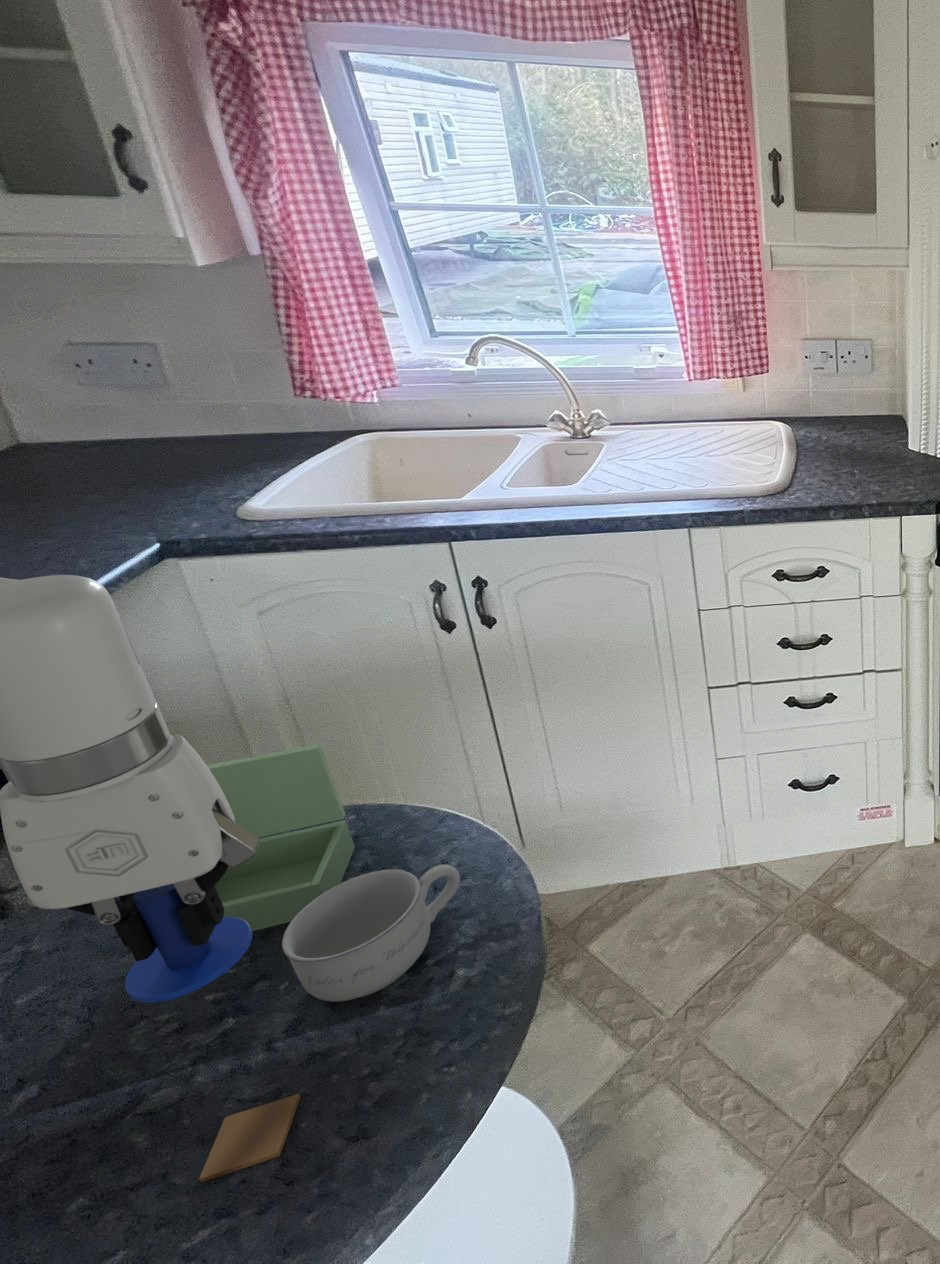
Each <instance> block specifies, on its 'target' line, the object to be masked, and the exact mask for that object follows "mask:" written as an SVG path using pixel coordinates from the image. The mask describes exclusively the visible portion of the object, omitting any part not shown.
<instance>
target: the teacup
mask: <svg viewBox="0 0 940 1264" xmlns="http://www.w3.org/2000/svg"><path fill="white" fill-rule="evenodd" d="M442 877H447V883H446V885H445V886H444V887H443V890H442V891H441V892H440V893H439V895H437V897H435V899H434V900H433V901H432V902H430V903H429V904H428V905H427V904H426V899H427V897H428V890H429V889H430V887H431V885H432V883H434V881H436V880H438V879H439V878H442ZM460 882H461V874H460V873H459V870H458V869H456V868H455V867H454V866H453V865H449V864H439V865H438V864H437V865H436V866H434V867H431V868H430V869H428V870H427V871H426V872H424V873H423V874H422V875H421V876H420V877H419V879H418V877H417V876H415V875H414V874H413V873H412V872H409V871H407V870H403V869H397V868H395V869H382V870H377V871H372V872H368V873H367V872H366V873H364V874H361V875H358V876H356V877H353V878H350V879H348V880H345V881H343V882H341V883H340V884H339V885H337V886H335V887H333V888H331V889H330V890H328V891H326V892H325V893H323V894H322V895H320V896H319V897H317V898H316V899H315V900H313V901H312V902H310V903H309V904H308V905H307V906H306V907H304V908H303V909H302V910H301V911H300V912H299V913H298V914H297V915H296V916H295V918H294V919H293V920H292V921H291V922H289V924H288V926H287V927H286V929H285V931H284V933H283V937H282V941H281V947H282V951H283V953H284V955H285V956H286V957H287V958H288V959H289V962H290V964H291V967H292V968H293V971H294V972H295V975H296V976H297V978H298V980H299V982H300V984H301V985H302V987H303V989H305V991H306V992H307V993H308V994H309V995H311V996H312V997H314V998H316V999H318V1000H319V1001H320V1000H321V1001H325V1002H346V1001H352V1000H355V999H358V998H362V997H366V996H369V995H372V994H374V993H376V992H378V991H380V990H382V989H384V988H386V987H388V986H390V985H391V984H392V983H394V982H395V981H397V980H398V979H399V978H401V976H403V975H404V974H405V973H406V972H407V971H408V970H409V969H410V968H411V967H412V966H413V965H414V964H415V963H416V961H418V959H419V958H420V956H421V955H422V954H423V952H424V950H425V948H426V947H427V944H428V942H429V939H430V935H431V924H432V923H433V922H434V921H435V920H436V917H437V916H438V913H439V912H440V911H441V910H442V909H443V908H444V907H445V906H446V905H447V904H448V903H449V901H451V899H452V898H453V897H454V895H455V894H456V892H457V890H458V889H459V886H460Z"/></svg>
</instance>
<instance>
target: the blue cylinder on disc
mask: <svg viewBox="0 0 940 1264" xmlns="http://www.w3.org/2000/svg"><path fill="white" fill-rule="evenodd" d="M133 900H134V902H135V904H136V906H137V908H138V910H139V912H140V914H141V916H142V918H143V920H144V922H145V924H146V926H147V928H148V930H149V932H150V934H151V936H152V938H153V940H154V942H155V944H156V946H157V947H156V949H155V950H154V952H153V954H152V955H151V956H149V958H148V959H145V960H141V961H135V962H134V964H133V965H132V966H131V967H130V969H129V971H128V972H127V974H126V976H125V980H124V989H125V992H126V993H127V995H128V997H129V998H130V999H131V1000H133V1001H134V1002H138V1003H141V1004H142V1003H143V1004H157V1003H162V1002H167V1001H171V1000H175V999H178V998H182V996H183V997H184V996H187V995H189V994H191V993H193V992H195V991H197V990H199V989H201V988H203V987H206V986H207V985H209V984H210V983H212V982H214V981H215V980H217V979H219V978H220V977H221V976H223V975H224V974H226V973H227V972H228V971H229V970H230V969H231V968H233V967H234V966H235V965H236V964H237V963H239V961H240V960H241V959H242V957H243V956H244V955H245V953H246V952H247V951H248V950H249V947H250V945H251V943H252V940H253V939H252V938H253V931H251V928H250V926H249V924H248V923H247V922H246V921H244V920H242V919H240V918H235V917H223V918H222V920H221V922H220V923H219V924H217V925H216V926H215V928H214V930H213V932H212V934H211V936H210V938H209V940H208V941H207V943H206V944H203V945H200V946H195V945H192V943H191V941H190V939H189V937H188V935H187V933H186V931H185V929H184V926H183V924H182V922H181V920H180V918H179V916H178V914H177V910H178V908H179V906H180V904H181V903H182V899H181V898H180V896H179V894H178V893H177V891H176V889H175V887H174V886H173V884H170V885H165V886H161V887H157V888H153V889H148V890H144V891H140V892H136V893H134V896H133Z"/></svg>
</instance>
